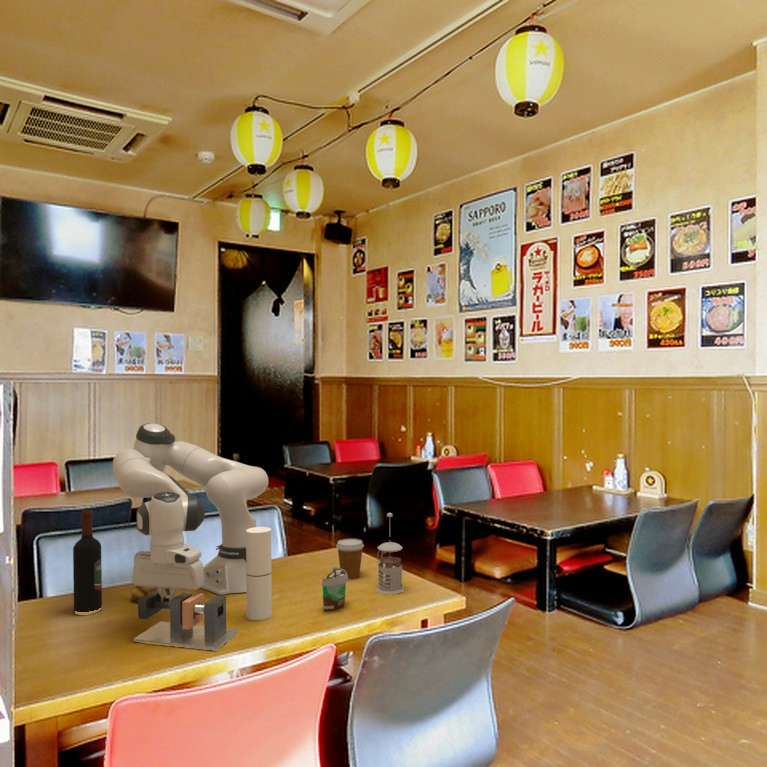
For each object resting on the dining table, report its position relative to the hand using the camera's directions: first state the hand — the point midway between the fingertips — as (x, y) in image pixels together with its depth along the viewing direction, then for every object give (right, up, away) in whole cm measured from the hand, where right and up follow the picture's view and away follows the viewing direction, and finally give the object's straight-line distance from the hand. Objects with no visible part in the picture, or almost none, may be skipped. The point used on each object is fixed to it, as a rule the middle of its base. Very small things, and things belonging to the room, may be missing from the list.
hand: (168, 603), depth 170 cm
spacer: (+8, -4, -5) cm, 10 cm away
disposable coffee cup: (+47, -7, +46) cm, 66 cm away
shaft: (+5, -2, -4) cm, 7 cm away
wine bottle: (-29, -8, +15) cm, 34 cm away
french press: (+61, -7, +33) cm, 69 cm away
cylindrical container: (+23, -8, +10) cm, 26 cm away
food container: (+45, -7, +17) cm, 49 cm away
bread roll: (-15, -8, +27) cm, 32 cm away
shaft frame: (+7, -8, -5) cm, 11 cm away
